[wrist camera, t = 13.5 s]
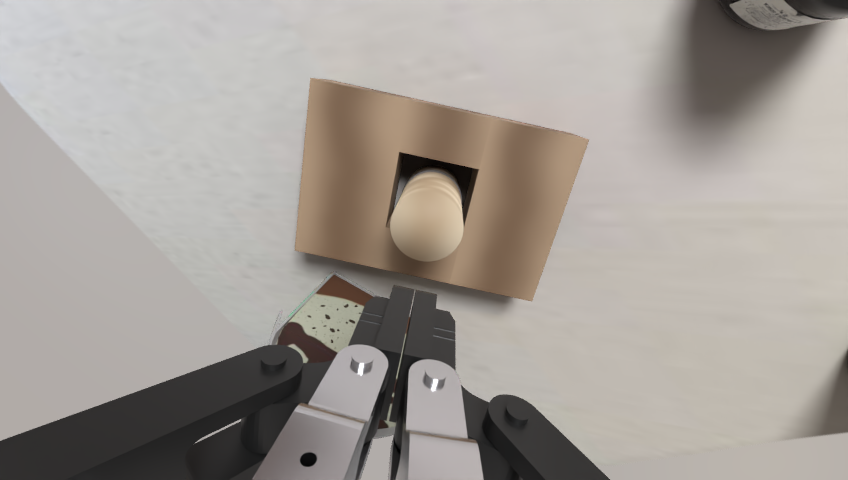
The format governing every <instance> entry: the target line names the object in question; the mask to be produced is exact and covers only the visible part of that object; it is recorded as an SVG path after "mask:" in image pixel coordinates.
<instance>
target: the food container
mask: <svg viewBox="0 0 848 480" xmlns="http://www.w3.org/2000/svg"><path fill="white" fill-rule="evenodd" d="M375 296H377V295H375V294H374V293H372V292H370V291H368V290H367V289H365V288H363V287H361V286H360V285H358V284H356V283H354V282H353V281H351V280H349V279H347V278H345V277H344V276H342V275H340V274H338V273H337V272H335V271H333V272H332V273H331V274H330V275H329V276H328V277H327V278H326V279H325V280H324V281H323V282H322V283H321V284H320V285H319V286H318V287H317V288H316V289H315V290H314V291H313V292H312V293H311V294H310V295H309V296H308V297H307V298H306V299H305V300H304V301H303V302H302V303H301V304H300V305H299V306H298V307H297V308H296V309H295V310H294V311H293V312H292V313H291V314H290V315H289V316H288V317H287V318H286V319H285V320H284V321H283V322H282V323H281V324H279V321H280V318H281V315H282V312H283V311H280V313H279V315H278V317H277V320H276V322H275V325H274V328H273V331H272V333H271V337H270V342H269V345H284V346H288V347H291V348H293V349H295V350H297V351H298V352H299V353H300V354H301V356H302V358H303V363H321V362H327V361H331V360H333V359H335V357H336V355H337V354H338V352H339V351H340V350H342V349H343V348H345V347H348V344H349V342H350V340H351V337H352V335H353V332H354V330H355V328H356V325H357V323H358V321H359V318H360V316H361V313H362V311H363V309H364V306H365V304H366V302H367V301H369V300H370V299H372V298H373V297H375ZM378 297H379V296H378ZM410 315H411V314H409V319H408V324H409V320H410ZM408 324H407V329H408ZM407 329H406V333H407ZM406 333H405V338H406ZM405 338H404V343H405ZM404 343H403V348H404ZM403 348H402V353H403ZM402 353H401V358H402ZM401 358H400V362H399V367H398V371H397V376H396V380H395V385H394V389H393V394H392V398H391V403H390V407H389V412H388V416H387V421H385V420H379V425H378V429H377V432H376V434H375V436H374V437H373V439H375V438H382V437H387V436H391V435H394V433H395V427H396V423H395V422H390V421H389V418H390V413H391V408H392V403H393V398H394V393H395V388H396V383H397V378H398V373H399V368H400V363H401Z"/></svg>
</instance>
